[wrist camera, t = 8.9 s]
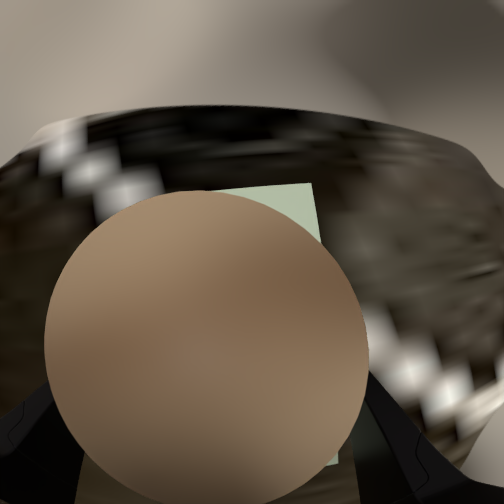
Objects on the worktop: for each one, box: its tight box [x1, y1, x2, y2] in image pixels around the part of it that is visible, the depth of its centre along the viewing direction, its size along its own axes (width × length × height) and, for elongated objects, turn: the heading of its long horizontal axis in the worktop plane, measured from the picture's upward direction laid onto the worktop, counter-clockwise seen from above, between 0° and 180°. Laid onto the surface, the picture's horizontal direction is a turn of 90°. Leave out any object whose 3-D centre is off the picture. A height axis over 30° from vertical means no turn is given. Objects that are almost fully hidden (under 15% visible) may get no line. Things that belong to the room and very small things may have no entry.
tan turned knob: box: [45, 191, 369, 504], centre depth 11 cm, size 7×7×13 cm
